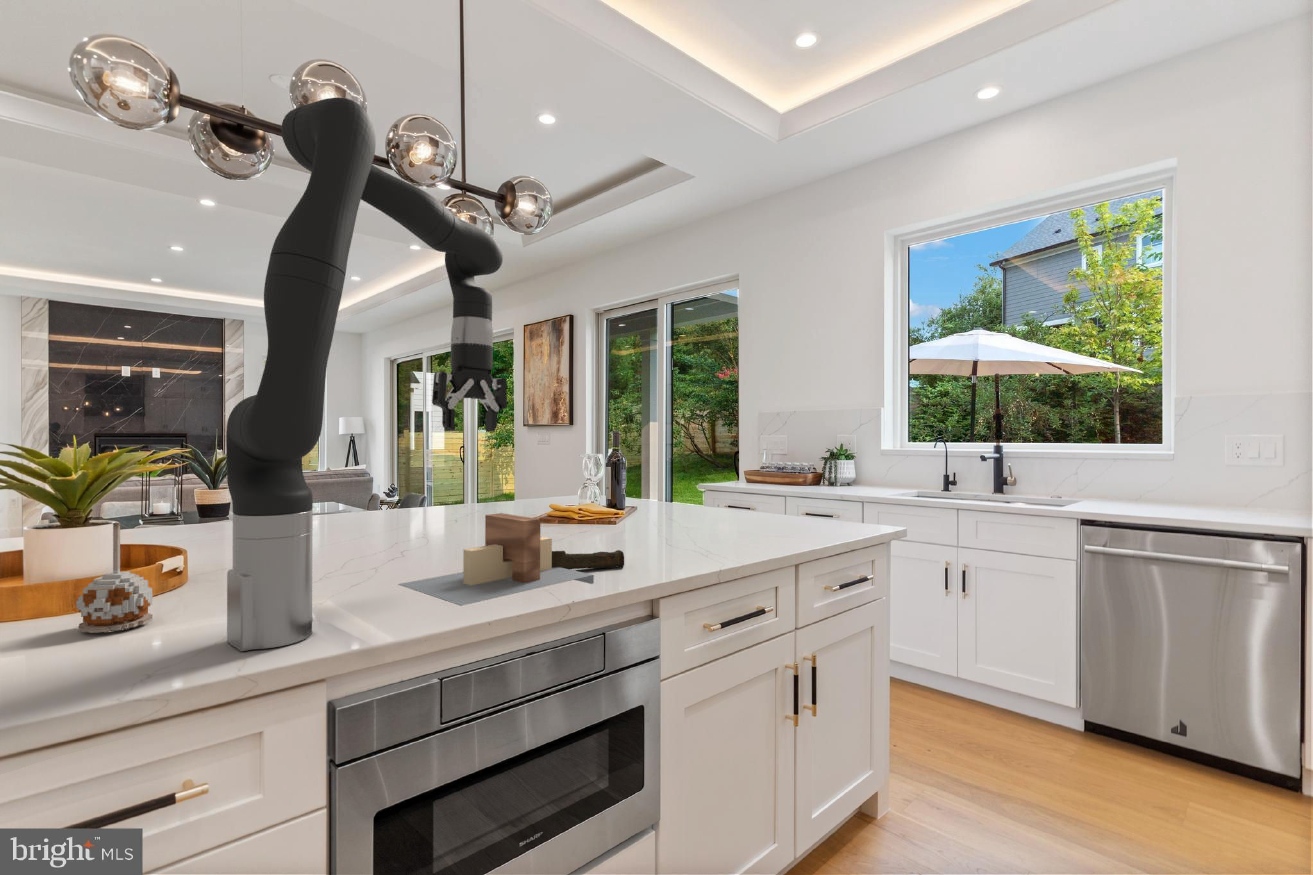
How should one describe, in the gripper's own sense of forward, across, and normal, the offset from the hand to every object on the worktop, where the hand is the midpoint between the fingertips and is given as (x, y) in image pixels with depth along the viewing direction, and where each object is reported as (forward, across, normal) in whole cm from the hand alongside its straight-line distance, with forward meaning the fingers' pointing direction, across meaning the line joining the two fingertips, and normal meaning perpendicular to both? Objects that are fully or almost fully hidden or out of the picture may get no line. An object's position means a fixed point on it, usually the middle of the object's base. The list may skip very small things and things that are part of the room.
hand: (470, 431), depth 116 cm
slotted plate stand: (+28, +2, -7) cm, 29 cm away
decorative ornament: (+30, -48, +13) cm, 58 cm away
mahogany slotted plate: (+27, +5, -7) cm, 28 cm away
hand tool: (+28, +21, -8) cm, 36 cm away
